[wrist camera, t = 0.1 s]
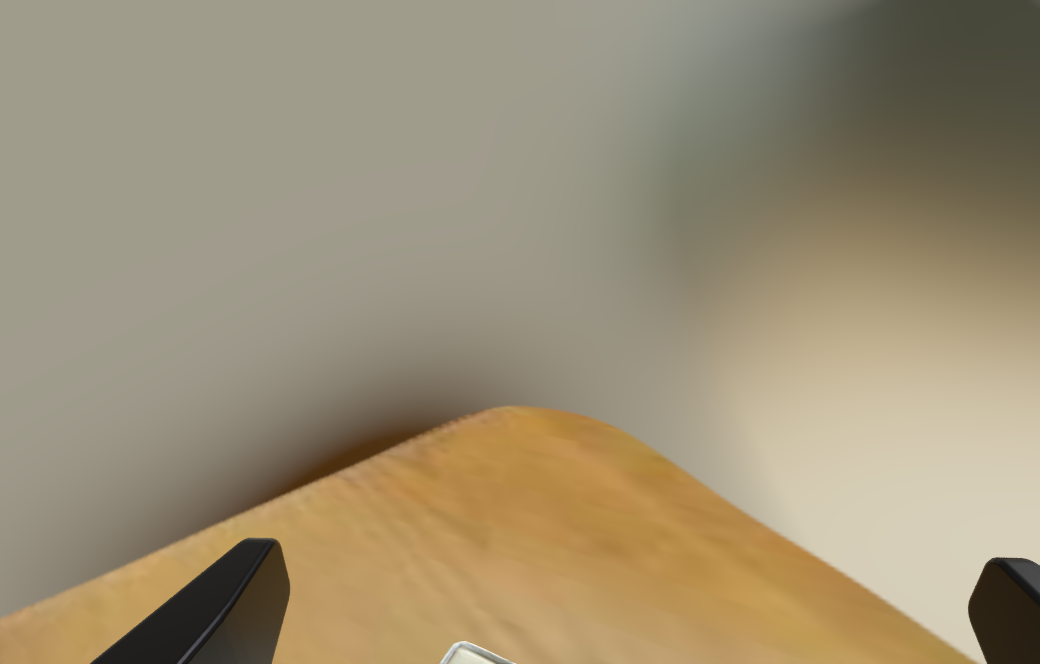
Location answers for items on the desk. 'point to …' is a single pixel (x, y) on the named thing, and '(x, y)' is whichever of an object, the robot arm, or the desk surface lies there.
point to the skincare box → (471, 655)
